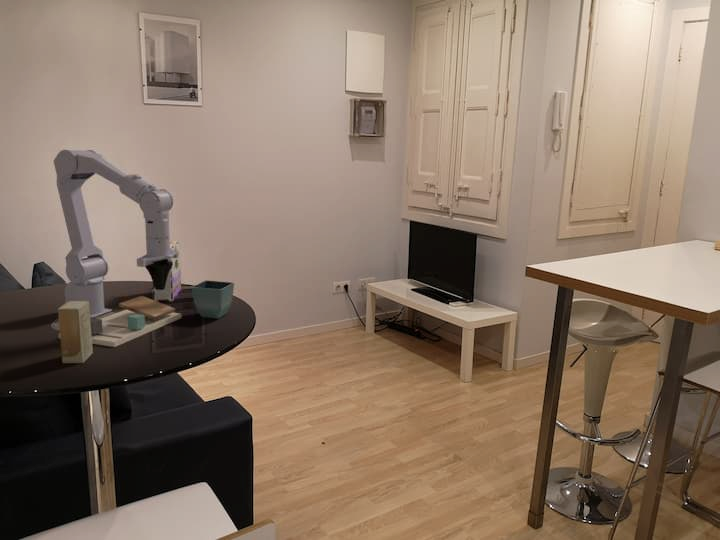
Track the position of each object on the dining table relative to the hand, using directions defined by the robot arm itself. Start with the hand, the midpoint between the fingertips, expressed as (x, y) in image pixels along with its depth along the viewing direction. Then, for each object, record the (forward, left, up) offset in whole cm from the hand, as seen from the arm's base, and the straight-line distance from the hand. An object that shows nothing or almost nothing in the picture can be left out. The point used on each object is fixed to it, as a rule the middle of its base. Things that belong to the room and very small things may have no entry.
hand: (159, 289), depth 151 cm
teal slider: (0, -10, -8) cm, 13 cm away
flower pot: (+9, +11, -9) cm, 17 cm away
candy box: (-16, +25, -9) cm, 31 cm away
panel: (-6, -7, -9) cm, 13 cm away
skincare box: (0, -29, -9) cm, 30 cm away
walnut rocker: (-4, 0, -6) cm, 7 cm away
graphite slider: (-6, -17, -8) cm, 20 cm away
